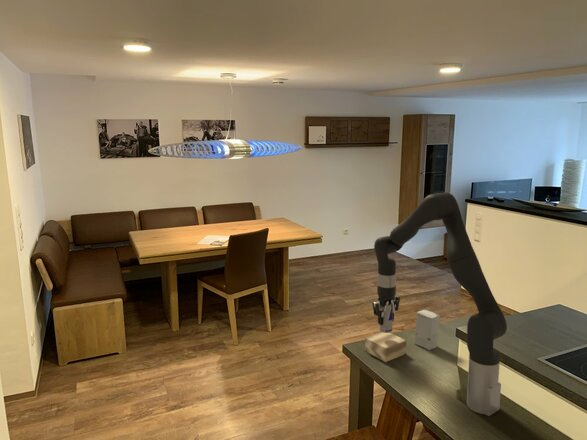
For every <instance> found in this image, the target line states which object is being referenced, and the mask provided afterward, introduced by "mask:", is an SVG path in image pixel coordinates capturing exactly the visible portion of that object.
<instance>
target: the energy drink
mask: <svg viewBox="0 0 587 440" xmlns="http://www.w3.org/2000/svg"><path fill="white" fill-rule="evenodd" d="M380 308H381V309H383V308H384V307H381V306H380ZM381 312H382V311H380V313H381ZM393 323H394V321H393V305H392V304H389V305H386V312H384V315H383V325H380V324H378V325H379V328H378V329H379V332H383V333H392V331H393Z"/></svg>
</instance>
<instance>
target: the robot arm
mask: <svg viewBox="0 0 587 440" xmlns="http://www.w3.org/2000/svg"><path fill="white" fill-rule="evenodd" d="M433 221H442V222H443V224H444V226H445V230H446V232H447V242H446V243H447V245H446V260H447V262H448V265H449V268H450V270H451V273H452V275H453V277H454V279H455V280H456V282H457V283H458V284H459V285H460V286H461V287H463V289H464V290H465V291H466V292H467V293H468V294H469V296H471V299H472V300H473V301H474V303H475V306H476V309H477V311H478V312H477V313H475V314H472V315H470V317H469V318H468V321H467V326H466V345H467V350H468V373H467V388H466V389H467V391H466V392H467V393H466V406H467V408H468V409H469V410H471V411H473V412H475V413H478V414H479V415H485V416H487V417H490V416H492V415H494V414H496V412H498V411H499V410H500V405H501V404H500V403H501V390H502V389H501V388H502V383H500V382H499V379H500V378H499V376H500V365H501V353H500V352H499V351H498V350H497V349H496V348H494V340H496V339H498V338H502V337H503V336H504V335H505V334H506V332H507V330H508V326H507V325H508V323H507V320H506V317H505V316H504V314H503V312H502V310H501V308H500V306H499V304H498V302H497V300H496V298H495V296H494V294H493V293H492V290H491V288H490V286H489V284H488V281H487V279H486V277H485V274H484V272H483V270H482V266H481V263H480V261H479V258H478V257H477V254H476V252H475V250H474V247H473V245H472V243H471V240H470V237H469V235H468V231H467V230H466V227H465V224H464V220H463V217H462V212H461V210H460V206H459V204H458V201H457V199H456V197H455V196H454V195H453V194H452V193H450V192H439V193H432V194H429V195H427V196H426V197H424V198H423V200H422V201H421V202H420V203H419V204H418V206H417V207H416V208H415V209H414V210H413V211H412V212H411V214H410V215H408V216H407V218H405V219H404V220H403V221H401V223H399V224H397V226H395V227H394V228H393V229H391V232H390V234H389V235H386V236H381V237H378V238H376V240H375V241H374V245H373V249H374V252H375V257H376V261H377V281H376V282H377V284H376V286H377V287H376V293H377V296H378V299H377V301H372V310H373V314H374V316H377V323H378V324H377V325H379V324H380V325H383V315H384V312H386V305H389V304H392V305H393V322H394V321H395V313H396V312H397V311H399V306H400V300H401V297H400V296H398V295H397V275H396V274H397V273H396V272H397V271H396V270H397V268H396V266H397V264H396V263H397V262H396V260H395V259H393V258H390V257H389V254H393V253H394V254H395V253H396V252H399V251H400V250H401V249H402V248H403V247H404V245H405V244H406V243H407V242H409V241H410V240H411V239H413V238H414V237H415V236H416V235H417V234H418V233H419V231H420V229H421V228H422V227H423V226H425V225H426V224H429V223H430V222H433ZM380 306H381V307H384V308H383V309H381V308H380ZM380 311H382V312H381V313H380Z"/></svg>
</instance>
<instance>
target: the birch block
mask: <svg viewBox="0 0 587 440" xmlns="http://www.w3.org/2000/svg"><path fill="white" fill-rule="evenodd" d="M364 351H365V352H366V351H367V352H366V353H368V354H370V355H371V356H374V357H375V358H377V359H378V360H381V361H383V362H385V363H387V362H389V361H392V360H394V359H397V358H399V357H402V356H404V355H406V354H407V340H406V339H404V338H402V337H400V336H397V335H396V334H394V333H392V332H390V333H383V332H381V331H379V332H377V333H375V334H372V335H369V336H366V337H364Z"/></svg>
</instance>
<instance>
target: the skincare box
mask: <svg viewBox="0 0 587 440" xmlns="http://www.w3.org/2000/svg"><path fill="white" fill-rule="evenodd" d="M440 320H441V315H439V314H438V313H435V312H433V311H430V310H427V309H422V310H419V311H417V312H416V323H415V332H414V333H415V334H414V344H415V345H416V346H419V347H422V348H424V349H426V350H428V351H431V350H433V349H436V348H437V347H438V346H439V345H438V342H439V331H440Z"/></svg>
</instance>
